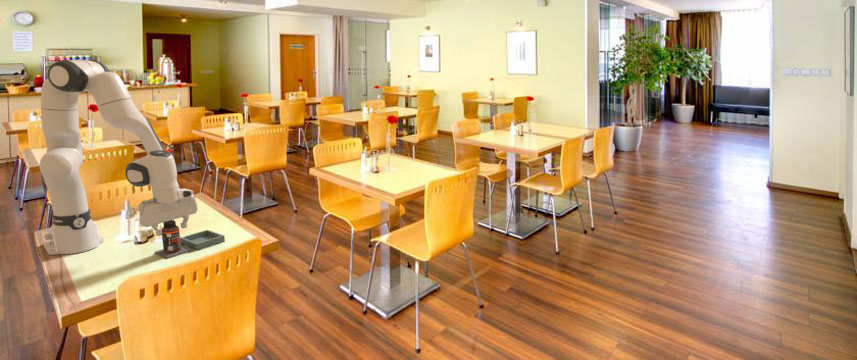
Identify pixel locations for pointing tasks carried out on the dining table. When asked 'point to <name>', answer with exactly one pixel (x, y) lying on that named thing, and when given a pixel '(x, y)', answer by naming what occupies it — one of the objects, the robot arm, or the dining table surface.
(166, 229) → the supplement bottle
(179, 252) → the mat
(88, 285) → the dining table surface
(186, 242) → the tray
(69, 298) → the dining table surface
